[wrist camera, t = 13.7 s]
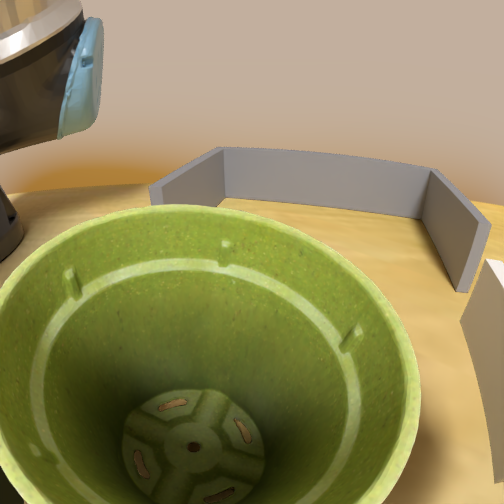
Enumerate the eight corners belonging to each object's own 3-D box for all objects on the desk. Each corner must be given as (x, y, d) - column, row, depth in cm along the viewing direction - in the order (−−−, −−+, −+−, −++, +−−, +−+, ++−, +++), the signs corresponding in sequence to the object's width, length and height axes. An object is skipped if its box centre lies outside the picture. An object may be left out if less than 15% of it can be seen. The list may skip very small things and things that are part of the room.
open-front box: (158, 253, 26) (148, 186, 23) (219, 193, 39) (217, 146, 36) (467, 292, 20) (491, 224, 17) (428, 216, 33) (437, 169, 30)
